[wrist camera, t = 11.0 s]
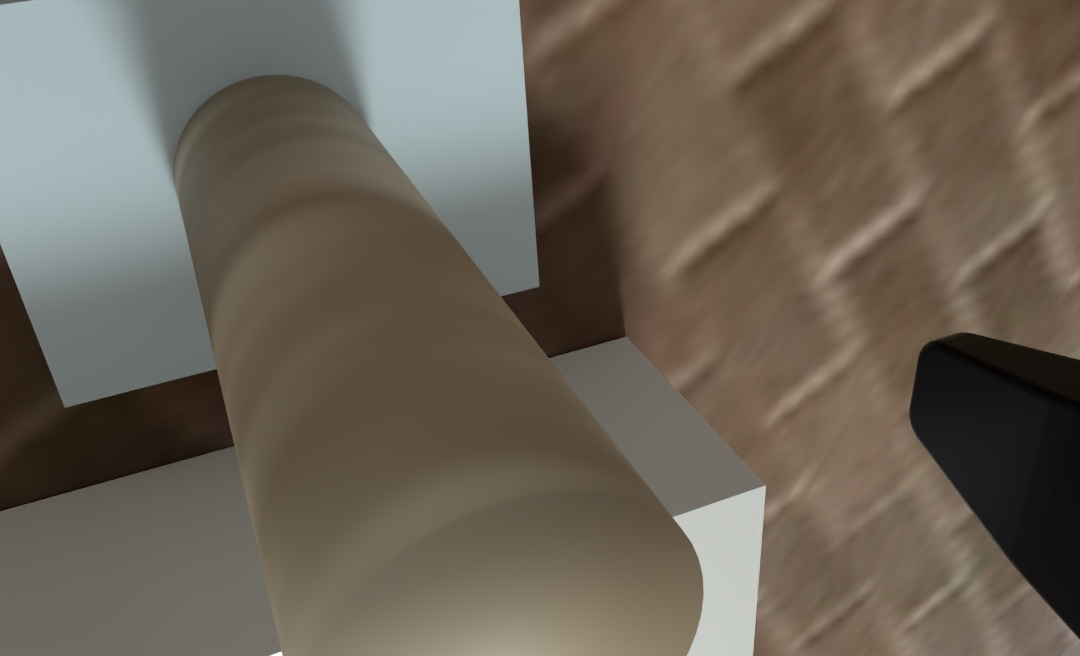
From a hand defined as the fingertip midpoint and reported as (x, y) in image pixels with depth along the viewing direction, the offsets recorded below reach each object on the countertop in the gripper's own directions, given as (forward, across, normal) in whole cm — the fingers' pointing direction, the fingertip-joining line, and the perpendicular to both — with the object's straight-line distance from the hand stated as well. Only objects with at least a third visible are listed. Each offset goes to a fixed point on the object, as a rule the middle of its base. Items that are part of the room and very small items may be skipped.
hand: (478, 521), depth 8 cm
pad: (+9, 0, 0) cm, 9 cm away
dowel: (+8, 0, 0) cm, 9 cm away
